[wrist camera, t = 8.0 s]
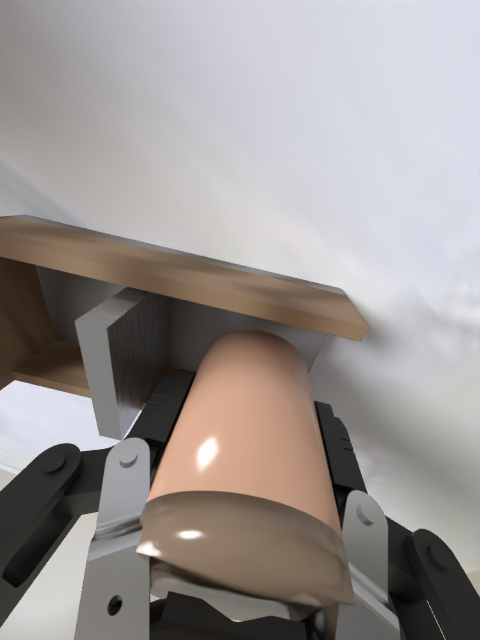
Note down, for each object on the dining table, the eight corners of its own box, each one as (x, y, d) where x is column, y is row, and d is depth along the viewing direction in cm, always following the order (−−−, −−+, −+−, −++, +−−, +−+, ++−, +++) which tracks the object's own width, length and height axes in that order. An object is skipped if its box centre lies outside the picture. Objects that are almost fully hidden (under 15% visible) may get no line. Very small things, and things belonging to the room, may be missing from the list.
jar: (324, 345, 11) (416, 596, 4) (288, 419, 14) (305, 636, 7) (207, 318, 11) (104, 523, 4) (196, 398, 14) (125, 593, 7)
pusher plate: (171, 275, 13) (106, 328, 8) (167, 364, 17) (121, 440, 12) (151, 270, 13) (74, 320, 8) (152, 361, 17) (99, 435, 12)
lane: (341, 288, 14) (384, 347, 8) (292, 394, 18) (300, 472, 13) (25, 214, 14) (-125, 227, 8) (59, 338, 19) (-23, 394, 13)
